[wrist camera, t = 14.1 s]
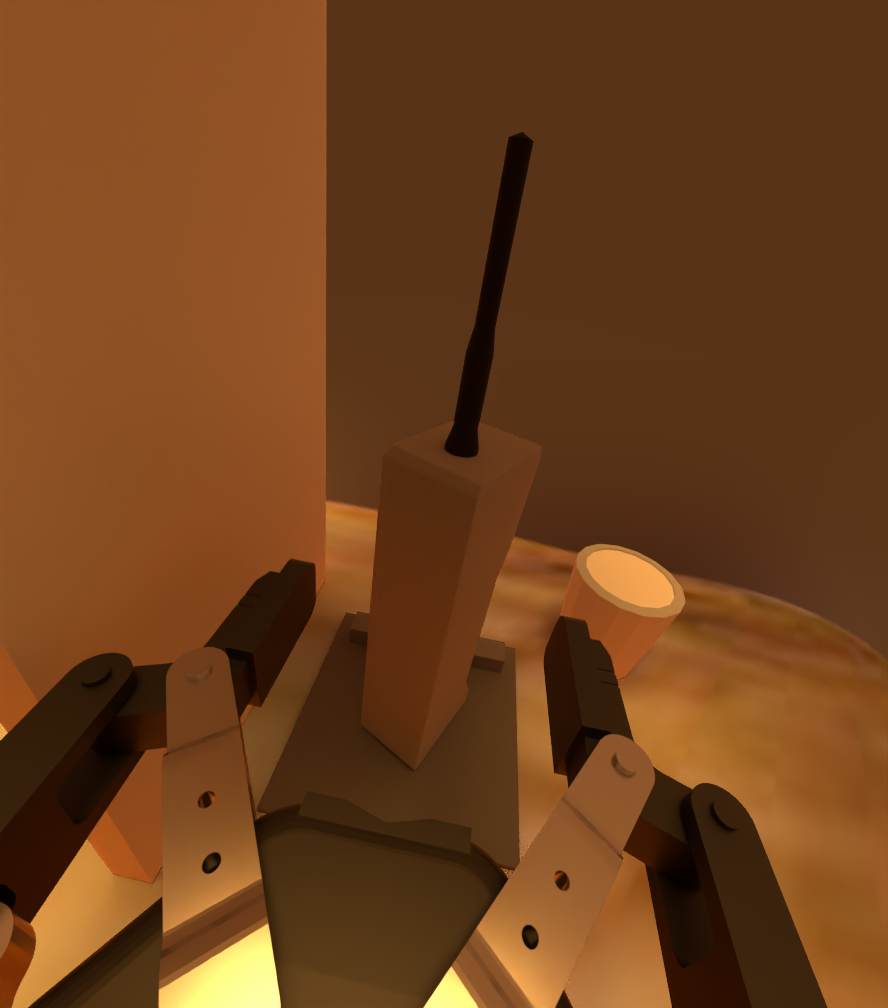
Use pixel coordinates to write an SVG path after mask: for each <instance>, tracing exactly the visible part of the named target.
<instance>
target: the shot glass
mask: <svg viewBox="0 0 888 1008" xmlns="http://www.w3.org/2000/svg"><path fill="white" fill-rule="evenodd" d="M684 604H685V598H684V593H683V589H682V587H681V586H680V585H679V584H678V582H677V581H676V580H675V578H674V577H673V576H672V574H670V573H669V572H668V571H667V570H665V569H664V568H663V567H662V566H660V565H659V564H658V563H656V562H655V561H653V560H651V559H649V558H647V557H646V556H644V555H642V554H640V553H638V552H636V551H633V550H629V549H626V548H623V547H620V546H616V545H606V544H597V545H592V546H587V547H585V548H584V549H583V550H582V551H581V552H579V553H578V554H577V557H576V561H575V564H574V568H573V571H572V575H571V578H570V581H569V585H568V588H567V592H566V595H565V599H564V602H563V605H562V609H561V612H560V616H567V617H572V618H576V619H581V620H585V621H586V623H587V625H588V630H589V634H590V638H591V639H594V640H599V641H601V643H602V644H603V646H604V647H605V649H606V650H607V651H608V653H609V654H610V656H611V659H612V663H613V667H614V671H615V673H614V674H615V675H616V678H617V680H618V679H621V678H623V677H626V676H627V674H628V673H629V672H630V671H631V670H632V669H633V667H634V666H635V665H636V664H637V663H638V661H639V660H640V659H641V658H642V657H643V656H644V654H645V653H646V652H647V651H648V650H649V648H650V647H651V646H652V645H653V644H654V643H655V641H656V640H657V639H658V638H659V637H660V635H661V634H662V633H663V632H664V631H665V630H666V628H667V627H668V626H669V625H670V624H671V622H672V621H673V620H674V619H675V618H676V617H677V615H678V614H679V613H680V611H681V610H682V608H683V606H684ZM560 616H559V617H560Z"/></svg>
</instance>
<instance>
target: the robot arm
mask: <svg viewBox="0 0 888 1008" xmlns="http://www.w3.org/2000/svg"><path fill="white" fill-rule="evenodd" d="M315 601H316V567H315V564H314V563H311V562H306V561H301V560H297V559H290V560H289V561H288V562H287V563H286V564H285V566H284V567H283V569H282V570H281V571H280V573H278V572H273V571H270V572H268V573H266V574H265V575H263V576H262V577H260V578H259V579H257V580H256V581H255V582H254V583H253V584H252V586H251V587H250V588H249V590H248V591H247V592H246V595H244V596H243V597H242V598H241V600H240V601H239V602H238V605H237V606H235V607H234V609H233V610H232V611H231V612H230V614H229V615H228V616H227V618H226V619H225V620H224V621H223V623H222V624H221V625H220V626H219V628H218V629H217V630H216V632H215V633H214V634H213V635H212V637H211V638H210V639H209V640H208V642H207V643H206V644H205V645H204V646H203V647H202V648H197V649H194V650H191V651H189V652H187V653H185V654H184V655H182V656H181V657H179V658H178V659H177V660H176V661H175V662H173V663H166V664H155V665H142V666H133V664H132V662H131V660H130V659H129V658H128V657H127V656H126V655H124V654H120V653H105V654H100V655H96V656H93V657H91V658H88V659H86V660H84V661H82V662H81V663H79V664H77V665H76V666H75V667H73V668H72V669H71V670H70V671H69V672H68V673H67V674H66V675H65V676H64V677H63V678H62V679H61V680H60V681H59V682H58V683H57V684H56V685H55V686H54V687H53V688H52V689H51V690H50V691H49V692H48V693H47V694H46V695H45V696H44V697H43V698H42V699H41V700H40V701H39V702H38V703H37V704H36V705H35V706H34V707H33V708H32V709H31V710H30V711H29V712H28V713H27V714H26V715H25V716H24V717H23V718H22V719H21V720H20V721H19V722H18V723H17V724H16V725H15V726H14V727H13V728H12V729H11V730H10V731H9V733H8V734H7V735H6V736H5V737H4V738H3V739H2V740H1V741H0V1008H12V1004H13V1001H14V997H15V995H16V992H17V990H18V987H19V985H20V983H21V981H22V979H23V977H24V976H25V974H26V972H27V970H28V968H29V966H30V963H31V961H32V958H33V955H34V951H35V945H36V936H35V932H34V929H33V927H32V926H31V925H30V923H31V921H32V920H33V918H34V917H35V915H36V914H37V912H38V911H39V909H40V908H41V906H42V905H43V903H44V902H45V900H46V899H47V897H48V896H49V894H50V893H51V891H52V890H53V888H54V887H55V885H56V884H57V883H58V881H59V880H60V878H61V877H62V875H63V874H64V872H65V871H66V869H67V868H68V866H69V865H70V863H71V862H72V860H73V859H74V857H75V856H76V854H77V853H78V851H79V850H80V848H81V847H82V845H83V844H84V842H85V841H86V839H87V838H88V836H89V835H90V833H91V832H92V830H93V829H94V827H95V826H96V824H97V823H98V821H99V820H100V818H101V817H102V815H103V814H104V812H105V811H106V809H107V808H108V806H109V805H110V803H111V802H112V801H113V799H114V798H115V796H116V795H117V793H118V792H119V790H120V789H121V787H122V786H123V784H124V783H125V781H126V780H127V778H128V777H129V775H130V774H131V772H132V771H133V769H134V768H135V766H136V765H137V763H138V762H139V760H140V759H141V757H142V756H143V754H144V753H145V751H146V750H152V749H160V748H167V753H166V754H164V755H163V759H162V880H163V896H162V897H161V898H160V899H159V900H158V901H156V902H155V903H154V904H153V905H151V906H150V907H149V908H148V909H147V910H145V911H144V912H143V913H142V914H141V915H139V916H138V917H137V918H136V919H135V920H133V921H132V922H131V923H130V924H128V925H127V926H126V927H125V928H124V929H122V930H121V931H120V932H119V933H118V934H116V935H115V936H114V937H113V938H111V939H110V940H109V941H108V942H107V943H105V944H104V945H103V946H102V947H101V948H99V949H98V950H97V951H96V952H94V953H93V954H92V955H91V956H90V957H88V958H87V959H86V960H85V961H84V962H82V963H81V964H80V965H79V966H77V967H76V968H75V969H74V970H73V971H71V972H70V973H69V974H68V975H67V976H65V977H64V978H63V979H62V980H61V981H59V982H58V983H57V984H56V985H54V986H53V987H52V988H51V989H50V990H48V991H47V992H46V993H45V994H44V995H42V996H41V997H40V998H39V999H38V1000H36V1001H35V1002H34V1003H33V1004H32V1005H31V1006H29V1007H28V1008H573V1007H572V1005H571V1003H570V1001H569V999H568V997H567V995H566V993H565V991H564V987H565V985H566V983H567V981H568V979H569V977H570V975H571V972H572V970H573V968H574V966H575V964H576V962H577V960H578V957H579V955H580V953H581V951H582V949H583V947H584V945H585V942H586V940H587V938H588V936H589V934H590V932H591V930H592V927H593V925H594V923H595V921H596V919H597V917H598V915H599V912H600V910H601V908H602V906H603V904H604V902H605V899H606V897H607V895H608V893H609V891H610V889H611V887H612V884H613V882H614V880H615V878H616V876H617V874H618V871H619V869H620V867H621V864H622V860H623V857H622V856H621V854H622V851H623V850H624V851H626V852H627V853H629V854H630V855H632V856H634V857H635V858H637V859H638V860H640V861H642V862H643V863H645V865H646V871H647V876H648V881H649V887H650V892H651V897H652V903H653V908H654V913H655V919H656V924H657V929H658V935H659V940H660V945H661V951H662V956H663V961H664V967H665V972H666V977H667V983H668V988H669V993H670V999H671V1004H672V1008H827V1005H826V1003H825V1000H824V998H823V995H822V993H821V990H820V988H819V985H818V983H817V980H816V978H815V975H814V973H813V970H812V968H811V965H810V963H809V960H808V958H807V955H806V953H805V950H804V947H803V945H802V942H801V940H800V937H799V935H798V932H797V930H796V927H795V925H794V922H793V920H792V917H791V915H790V912H789V910H788V907H787V905H786V902H785V900H784V897H783V895H782V892H781V890H780V887H779V885H778V882H777V880H776V877H775V875H774V872H773V870H772V867H771V864H770V862H769V859H768V857H767V854H766V852H765V849H764V847H763V844H762V842H761V839H760V837H759V834H758V832H757V829H756V827H755V824H754V822H753V820H752V818H751V817H750V815H749V813H748V812H747V811H746V809H745V808H744V807H743V805H742V804H741V803H740V802H739V801H738V800H737V799H736V798H735V797H734V796H733V795H731V794H730V793H729V792H727V791H726V790H724V789H723V788H721V787H719V786H716V785H714V784H709V783H702V784H699V785H697V786H696V787H695V788H694V789H693V790H692V789H691V788H689V787H687V786H685V785H683V784H681V783H680V782H678V781H676V780H674V779H672V778H670V777H669V776H667V775H665V774H663V773H662V772H660V771H658V770H657V769H656V768H654V767H653V766H652V763H651V761H650V759H649V758H648V756H647V755H646V753H645V752H644V751H643V750H642V749H641V748H640V747H639V746H638V745H637V744H636V743H635V742H634V740H633V737H632V734H631V730H630V726H629V723H628V719H627V715H626V711H625V708H624V704H623V700H622V697H621V693H620V689H619V688H618V682H617V678H616V675H615V674H614V673H615V671H614V667H613V663H612V659H611V656H610V654H609V653H608V651H607V650H606V649H605V647H604V646H603V644H602V643H601V641H599V640H594V639H591V638H590V634H589V630H588V625H587V623H586V621H585V620H581V619H576V618H572V617H567V616H560V617H559V619H558V621H557V623H556V626H555V628H554V630H553V632H552V635H551V637H550V639H549V642H548V644H547V647H546V650H545V655H544V673H545V683H546V693H547V704H548V714H549V724H550V735H551V745H552V755H553V766H554V773H556V774H561V775H565V776H567V780H568V790H567V792H566V793H565V795H564V796H563V798H562V799H561V801H560V802H559V804H558V805H557V807H556V808H555V810H554V811H553V813H552V814H551V816H550V817H549V819H548V820H547V822H546V823H545V825H544V826H543V828H542V829H541V831H540V832H539V834H538V835H537V837H536V838H535V840H534V842H533V843H532V845H531V846H530V848H529V849H528V851H527V852H526V854H525V855H524V857H523V858H522V860H521V861H520V863H519V864H518V866H517V867H516V869H515V870H514V872H513V873H512V875H511V876H510V878H509V879H508V878H507V876H506V875H505V873H504V872H503V870H502V869H501V868H500V867H499V865H498V864H497V863H496V862H495V860H494V859H493V858H492V857H491V856H490V855H489V854H488V853H487V852H485V851H484V850H483V849H481V848H480V847H479V846H478V845H476V844H474V843H473V842H471V832H472V828H470V827H466V826H461V825H457V824H452V823H448V822H443V821H439V820H435V819H422V820H411V821H399V822H384V821H382V820H380V819H379V818H377V817H375V816H374V815H372V814H370V813H369V812H367V811H365V810H364V809H362V808H360V807H358V806H357V805H355V804H353V803H352V802H350V801H348V800H346V799H341V798H337V797H333V796H328V795H324V794H319V793H315V792H310V791H307V792H306V795H305V797H304V800H303V802H302V804H294V805H289V806H285V807H282V808H279V809H277V810H274V811H272V812H270V813H268V814H266V815H264V816H262V817H261V818H259V819H256V812H255V806H254V801H253V795H252V789H251V783H250V777H249V771H248V764H247V758H246V752H245V746H244V739H243V733H242V727H241V720H240V718H241V716H242V714H243V712H244V711H245V709H246V707H247V706H248V704H249V705H254V706H258V707H261V706H262V704H263V702H264V700H265V698H266V696H267V695H268V693H269V691H270V689H271V687H272V686H273V684H274V682H275V680H276V678H277V676H278V675H279V673H280V671H281V669H282V667H283V666H284V664H285V662H286V660H287V658H288V656H289V655H290V653H291V651H292V649H293V647H294V646H295V644H296V642H297V640H298V638H299V636H300V635H301V633H302V631H303V629H304V627H305V626H306V624H307V622H308V620H309V618H310V616H311V614H312V612H313V609H314V606H315Z"/></svg>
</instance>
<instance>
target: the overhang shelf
mask: <svg viewBox="0 0 888 1008" xmlns="http://www.w3.org/2000/svg"><path fill="white" fill-rule="evenodd" d="M325 479H326V0H0V723H1V724H2V725H3V727H4V728H5V729H6V731H7V732H8V733H9V731H10V730H11V729H12V728H13V727H14V726H15V725H16V724H17V723H18V722H19V721H20V720H21V719H22V718H23V717H24V716H25V715H26V714H27V713H28V712H29V711H30V710H31V709H32V708H33V707H34V706H35V705H36V704H37V703H38V702H39V701H40V700H41V699H42V698H43V697H44V696H45V695H46V694H47V693H48V692H49V691H50V690H51V689H52V688H53V687H54V686H55V685H56V684H57V683H58V682H59V681H60V680H61V679H62V678H63V677H64V676H65V675H66V674H67V673H68V672H69V671H70V670H71V669H72V668H73V667H75V666H76V665H77V664H79V663H81V662H82V661H84V660H86V659H88V658H91V657H93V656H96V655H100V654H105V653H120V654H124V655H126V656H127V657H128V658H129V659H130V660H131V662H132V664H133V666H142V665H155V664H166V663H173V662H175V661H176V660H177V659H178V658H179V657H181V656H182V655H184V654H185V653H187V652H189V651H191V650H194V649H197V648H202V647H203V646H204V645H205V644H206V643H207V642H208V640H209V639H210V638H211V637H212V635H213V634H214V633H215V632H216V630H217V629H218V628H219V626H220V625H221V624H222V623H223V621H224V620H225V619H226V618H227V616H228V615H229V614H230V612H231V611H232V610H233V609H234V607H235V606H237V605H238V602H239V601H240V600H241V598H242V597H243V596H244V595H246V592H247V591H248V590H249V588H250V587H251V586H252V584H253V583H254V582H255V581H256V580H257V579H259V578H260V577H262V576H263V575H265V574H266V573H268V572H270V571H273V572H278V573H280V571H281V570H282V569H283V567H284V566H285V564H286V563H287V562H288V561H289V560H290V559H297V560H301V561H306V562H311V563H314V564H315V567H316V595H317V594H318V592H319V590H320V588H321V587H322V585H323V583H324V581H325V544H326V498H325V497H326V488H325V487H326V486H325V485H326V483H325V481H326V480H325ZM369 617H370V614H367V613H363V612H357V614H356V615H355V614H350V613H346V615H345V617H344V619H343V622H342V624H341V626H340V628H339V630H338V632H337V635H336V637H335V639H334V641H333V643H332V646H331V648H330V650H329V652H328V654H327V657H326V659H325V661H324V663H323V665H322V668H321V670H320V672H319V674H318V676H317V678H316V681H315V683H314V685H313V687H312V689H311V692H310V694H309V696H308V698H307V700H306V703H305V705H304V707H303V709H302V711H301V713H300V716H299V718H298V720H297V722H296V724H295V727H294V729H293V731H292V733H291V735H290V738H289V740H288V742H287V744H286V746H285V749H284V751H283V753H282V755H281V757H280V759H279V762H278V764H277V766H276V768H275V770H274V773H273V775H272V777H271V779H270V781H269V784H268V786H267V788H266V790H265V792H264V794H263V797H262V799H261V801H260V803H259V805H258V808H257V809H258V811H260V812H264V813H270V812H272V811H274V810H277V809H279V808H282V807H285V806H289V805H294V804H302V802H303V800H304V797H305V795H306V792H307V791H310V792H315V793H319V794H324V795H328V796H333V797H337V798H341V799H346V800H348V801H350V802H352V803H353V804H355V805H357V806H358V807H360V808H362V809H364V810H365V811H367V812H369V813H370V814H372V815H374V816H375V817H377V818H379V819H380V820H382V821H384V822H399V821H411V820H422V819H435V820H439V821H443V822H448V823H452V824H457V825H461V826H466V827H470V828H472V832H471V842H473V843H474V844H476V845H478V846H479V847H480V848H481V849H483V850H484V851H485V852H487V853H488V854H489V855H490V856H491V857H492V858H493V859H494V860H495V862H496V863H497V864H498V865H499V867H502V868H507V869H511V870H515V869H516V867H517V866H518V864H519V863H520V857H519V812H518V768H517V723H516V679H515V648H510V647H505V643H504V642H499V641H494V640H490V639H485V638H480V637H479V640H478V643H477V647H476V650H475V653H474V657H473V660H472V663H471V667H470V670H469V673H468V677H467V680H466V683H467V687H468V694H467V697H466V700H465V702H464V703H463V705H462V706H461V707H460V709H459V710H458V712H457V713H456V714H455V716H454V717H453V719H452V720H451V721H450V723H449V724H448V725H447V727H446V728H445V730H444V731H443V732H442V734H441V735H440V737H439V738H438V739H437V741H436V742H435V743H434V745H433V746H432V748H431V749H430V750H429V752H428V753H427V755H426V756H425V757H424V759H423V760H422V762H421V763H420V764H419V766H418V767H417V768H416V770H413V769H411V768H410V767H409V766H408V765H407V764H406V763H404V762H403V761H402V760H401V759H400V758H399V757H398V756H396V755H395V754H394V753H393V752H392V751H391V750H389V749H388V748H387V747H386V746H385V745H384V744H383V743H381V742H380V741H379V740H378V739H377V738H376V737H374V736H373V735H372V734H371V733H370V732H369V731H367V730H366V729H365V728H364V727H363V726H362V725H361V713H362V701H363V689H364V677H365V665H366V653H367V641H368V629H369ZM253 706H254V705H249V704H248V706H247V707H246V709H245V711H244V712H243V714H242V716H241V718H240V720H241V727H242V725H243V723H244V721H245V720H246V718H247V716H248V714H249V713H250V711H251V709H252V707H253ZM166 753H167V748H160V749H152V750H146V751H145V753H144V754H143V756H142V757H141V759H140V760H139V762H138V763H137V765H136V766H135V768H134V769H133V771H132V772H131V774H130V775H129V777H128V778H127V780H126V781H125V783H124V784H123V786H122V787H121V789H120V790H119V792H118V793H117V795H116V796H115V798H114V799H113V801H112V802H111V803H110V805H109V806H108V808H107V809H106V811H105V812H104V814H103V815H102V817H101V818H100V820H99V821H98V823H97V824H96V826H95V827H94V829H93V830H92V832H91V833H90V835H89V836H88V838H87V840H88V841H89V842H90V844H91V845H92V846H93V848H94V849H95V850H96V852H97V853H98V854H99V856H100V857H101V858H102V860H103V861H104V862H105V864H106V865H107V867H108V868H109V869H110V871H111V872H112V873H113V874H115V875H119V876H123V877H127V878H131V879H136V880H140V881H144V882H148V883H152V882H153V881H154V879H155V877H156V875H157V874H158V872H159V870H160V868H161V867H162V759H163V755H164V754H166Z"/></svg>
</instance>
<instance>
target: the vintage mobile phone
mask: <svg viewBox="0 0 888 1008" xmlns="http://www.w3.org/2000/svg"><path fill="white" fill-rule="evenodd" d="M532 146H533V141H532V140H531V139H530V138H529V137H528V136H527V135H525V134H524V133H523V132H521V133H518V134H516V135H513V136H510V137H509V139H508V144H507V150H506V155H505V161H504V167H503V172H502V178H501V183H500V189H499V194H498V200H497V205H496V211H495V216H494V222H493V227H492V234H491V239H490V244H489V250H488V255H487V261H486V266H485V272H484V277H483V283H482V289H481V294H480V299H479V305H478V311H477V316H476V322H475V326H474V330H473V332H472V335H471V338H470V341H469V344H468V347H467V350H466V356H465V361H464V367H463V372H462V378H461V384H460V390H459V395H458V401H457V407H456V412H455V418H454V421H452V422H449V423H447V424H444V425H441V426H439V427H436V428H434V429H431V430H429V431H426V432H423V433H421V434H418V435H416V436H413V437H410V438H408V439H405V440H402V441H400V442H397V443H395V444H392V445H391V446H390V447H389V448H388V450H387V451H386V452H385V453H384V455H383V459H382V472H381V484H380V496H379V508H378V520H377V532H376V544H375V556H374V568H373V580H372V592H371V604H370V617H369V629H368V641H367V653H366V665H365V677H364V689H363V701H362V713H361V725H362V726H363V727H364V728H365V729H366V730H367V731H369V732H370V733H371V734H372V735H373V736H374V737H376V738H377V739H378V740H379V741H380V742H381V743H383V744H384V745H385V746H386V747H387V748H388V749H389V750H391V751H392V752H393V753H394V754H395V755H396V756H398V757H399V758H400V759H401V760H402V761H403V762H404V763H406V764H407V765H408V766H409V767H410V768H411V769H413V770H416V768H417V767H418V766H419V764H420V763H421V762H422V760H423V759H424V757H425V756H426V755H427V753H428V752H429V750H430V749H431V748H432V746H433V745H434V743H435V742H436V741H437V739H438V738H439V737H440V735H441V734H442V732H443V731H444V730H445V728H446V727H447V725H448V724H449V723H450V721H451V720H452V719H453V717H454V716H455V714H456V713H457V712H458V710H459V709H460V707H461V706H462V705H463V703H464V702H465V700H466V697H467V694H468V687H467V683H466V680H467V677H468V673H469V670H470V667H471V663H472V660H473V657H474V653H475V650H476V647H477V643H478V640H479V636H480V633H481V630H482V626H483V623H484V620H485V616H486V613H487V609H488V606H489V603H490V599H491V596H492V593H493V589H494V586H495V582H496V579H497V576H498V574H499V571H500V569H501V567H502V565H503V562H504V560H505V558H506V556H507V553H508V551H509V549H510V546H511V543H512V540H513V537H514V534H515V530H516V528H517V525H518V522H519V519H520V516H521V513H522V510H523V507H524V504H525V501H526V498H527V495H528V492H529V489H530V486H531V483H532V480H533V477H534V474H535V471H536V468H537V465H538V463H539V459H540V457H541V445H539V444H536V443H533V442H531V441H528V440H525V439H523V438H520V437H517V436H515V435H512V434H510V433H507V432H504V431H501V430H499V429H496V428H494V427H491V426H488V425H486V424H483V423H480V417H481V412H482V407H483V403H484V398H485V393H486V388H487V384H488V379H489V374H490V369H491V364H492V360H493V352H494V335H495V326H496V321H497V316H498V311H499V306H500V301H501V297H502V292H503V287H504V282H505V277H506V272H507V268H508V263H509V257H510V252H511V248H512V243H513V238H514V233H515V228H516V223H517V219H518V214H519V208H520V204H521V199H522V194H523V189H524V184H525V180H526V175H527V170H528V165H529V160H530V155H531V151H532Z"/></svg>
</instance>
